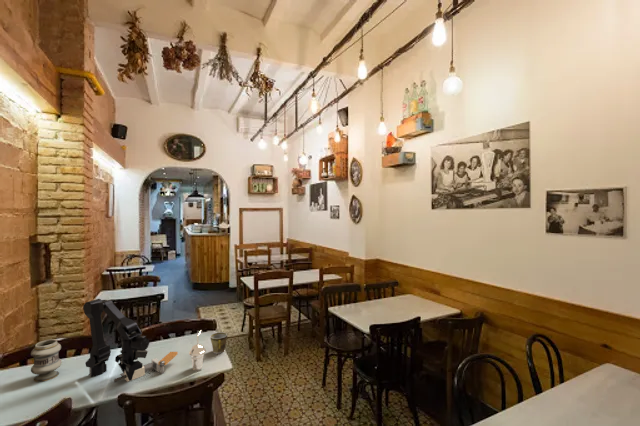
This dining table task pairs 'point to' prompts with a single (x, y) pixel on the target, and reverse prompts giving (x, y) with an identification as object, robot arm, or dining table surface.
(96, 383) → the dining table surface
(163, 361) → the copper metal plate
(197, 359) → the cup with straw
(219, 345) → the ceramic cup
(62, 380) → the dining table surface
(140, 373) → the plug
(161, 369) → the grey piece
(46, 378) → the apothecary jar
